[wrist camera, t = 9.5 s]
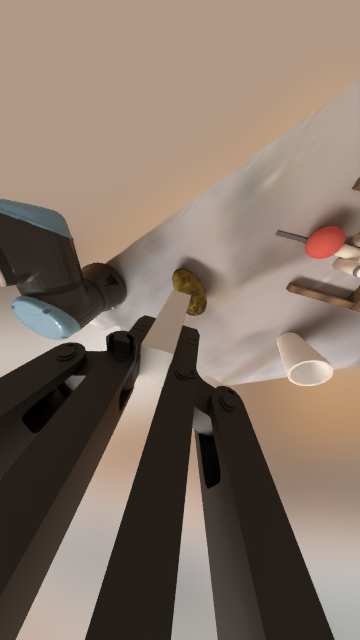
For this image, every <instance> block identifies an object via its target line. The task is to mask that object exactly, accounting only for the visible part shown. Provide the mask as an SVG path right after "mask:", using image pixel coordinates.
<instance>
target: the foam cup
mask: <svg viewBox="0 0 360 640" xmlns="http://www.w3.org/2000/svg"><path fill="white" fill-rule="evenodd" d="M277 345H278V348H279V351H280V355H281V358H282V362H283V365H284V370H285V372H286V374H287V376H288V378H289V380H290V381H291V382H293V383H295V384H297V385H302V386H313V385H317V384H321V383H323V382H325V381H327V380H328V379H330V378H331V376H332V374H333V368H332V366H331V364H330V363H329V362H328V361H327V360H326V359H325V358H324V357H322V356H321V355H320V354H319V353H318V352H317V351H315V350H314V349H313V348H312V347H311V346H310V345H309V344H308V343H307V342H306V341H304V340H303V339H302V338H301V337H300V336H299V335H297V334H296V333H292V332H289V333H284V334H282V335H280V336H279V338H278V339H277Z"/></svg>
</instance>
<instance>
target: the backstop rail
mask: <svg viewBox="0 0 360 640" xmlns="http://www.w3.org/2000/svg"><path fill="white" fill-rule="evenodd" d="M352 189H354V190H358V191H360V178H359V179H358V180H357V182H356V183H355V185H354V186H353V188H352ZM286 289H287V290H288V291H289V292H292V293H296V294H299V295H303V296H306V297H310V298H313V299H317V300H320V301H324V302H327V303H331V304H335V305H338V306H342V307H345V308H349V309H351V310H354V311H357V312H360V286H359V287H358V288H357V289H356V290H355V292H354V293H353V294H352V295H351V296H350V297H349V298H348V299H344V298H341V297H337V296H334V295H330V294H327V293H323V292H320V291H316V290H312V289H309V288H305V287H302V286H298V285H295V284H291V283H289V284H288V286H287V287H286Z"/></svg>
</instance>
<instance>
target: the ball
mask: <svg viewBox="0 0 360 640" xmlns="http://www.w3.org/2000/svg"><path fill="white" fill-rule="evenodd" d="M344 242H345V233H344V231H343V230H342V229H340V228H338V227H335V226H328V227H323V228H321V229H319V230H317V231H315V232H314V233H313V234H312V235H311V236H310V237H309V238H308V240H307V241H306V244H305V251H306V253H307V254H308V255H309V256H310V257H312V258H315V259H322V258H327V257H329V256H332V255H333V254H335V253H336V252H338V251H339V250H340V249H341V247H342V246H343V244H344Z"/></svg>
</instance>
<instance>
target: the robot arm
mask: <svg viewBox="0 0 360 640" xmlns="http://www.w3.org/2000/svg"><path fill="white" fill-rule="evenodd" d="M11 285H16V286H17V288H18V290H19V292H20V294H21V297H17V298H16V299H15V300H14V301H13V302H12V310H13V312H14V314H15V315H16V317H17V318H18V319H19V320H20V321H21V322H22V323H23V324H24V325H25V326H27V327H28V328H29V329H31V330H32V331H34V332H36V333H37V334H40V335H41V336H44V337H46V338H50V339H54V340H63V339H66V338H68V337H70V336H72V335H73V334H74V333H76V332H79V331H80V330H81V329H82V328H83V327H84V326H85V325H87V324H88V323H89V322H90V321H92V320H93V319H94V318H95V317H97V316H98V315H99V314H100V313H102V312H104V311H107V310H111V309H114V308H117V307H118V306H119V305H121V304H122V303H123V302H124V300H125V297H126V287H125V284H124V281H123V279H122V278H121V276H120V275H119V274H118V273H117V272H116V271H115V270H114V269H113V268H111V267H110V266H108V265H106V264H103V263H93V264H89V265H87V266H85V267H83V268H82V269H81V267H80V264H79V261H78V257H77V253H76V250H75V246H74V243H73V238H72V237H71V234H70V231H69V228H68V225H67V223H66V220H65V219H64V217H63V216H62V215H61V214H59V213H58V212H56V211H54V210H50V209H46V208H43V207H38V206H34V205H30V204H25V203H21V202H15V201H10V200H5V199H0V286H2V287H6V286H11ZM190 298H191V295H188V294H185V293H181V292H178V291H174V290H173V291H172V293H171V295H170V296H169V298H168V300H167V302H166V303H165V305H164V307H163V308H162V310H161V312H160V313H159V315H158V317H157V318H153V317H150V316H146V315H145V316H143V317H141V318H139V319H138V320H137V322H136V323H135V324H134V326H133V327H132V328H131V329H130V331H129V332H128V331H116V332H113V333H110V334H109V335H108V336H106V342H107V351H100V352H99V351H86V350H85V347H84V346H83V345H82V344H79V343H71V342H70V343H65V344H61V345H59V346H57V347H54V348H53V349H51V350H49V351H47V352H45V353H44V354H42V355H40V356H38V357H36V358H35V359H33V360H31V361H29V362H27V363H26V364H24V365H22V366H20V367H18V368H17V369H15V370H13V371H11V372H10V373H8V374H6V375H4V376H2V377H1V378H0V478H1V479H0V640H16V637H17V635H18V633H19V631H20V629H21V627H22V625H23V623H24V620H25V618H26V616H27V614H28V612H29V610H30V608H31V606H32V603H33V601H34V599H35V597H36V595H37V593H38V591H39V589H40V587H41V584H42V582H43V580H44V578H45V576H46V574H47V572H48V570H49V568H50V565H51V563H52V561H53V559H54V557H55V555H56V553H57V551H58V549H59V546H60V544H61V542H62V540H63V538H64V536H65V534H66V532H67V530H68V527H69V525H70V523H71V521H72V519H73V517H74V515H75V513H76V510H77V508H78V506H79V504H80V502H81V500H82V498H83V496H84V493H85V491H86V489H87V487H88V485H89V483H90V481H91V479H92V476H93V474H94V472H95V470H96V468H97V466H98V464H99V462H100V459H101V458H102V455H103V453H104V451H105V449H106V447H107V445H108V443H109V441H110V438H111V436H112V434H113V432H114V430H115V428H116V426H117V423H118V422H119V419H120V417H121V415H122V413H123V411H124V409H125V407H126V405H127V402H128V400H129V398H130V396H131V394H132V392H133V389H134V383H135V381H136V379H137V377H138V381H141V382H144V383H147V384H151V385H154V386H157V387H161V388H162V391H161V394H160V397H159V401H158V404H157V407H156V411H155V414H154V417H153V420H152V423H151V427H150V430H149V433H148V437H147V440H146V443H145V446H144V450H143V453H142V456H141V459H140V462H139V466H138V469H137V472H136V476H135V479H134V482H133V485H132V489H131V492H130V495H129V499H128V501H127V505H126V508H125V511H124V514H123V518H122V521H121V524H120V527H119V531H118V534H117V537H116V540H115V544H114V547H113V550H112V553H111V557H110V560H109V563H108V566H107V570H106V574H105V576H104V580H103V583H102V586H101V589H100V593H99V596H98V599H97V602H96V605H95V609H94V612H93V615H92V618H91V622H90V625H89V628H88V631H87V635H86V638H85V640H171V633H172V622H173V613H174V602H175V593H176V583H177V573H178V563H179V553H180V544H181V533H182V524H183V514H184V503H185V493H186V484H187V474H188V464H189V454H190V445H191V435H192V428H194V430H195V439H196V448H197V457H198V466H199V475H200V483H201V493H202V502H203V511H204V520H205V529H206V538H207V546H208V555H209V564H210V573H211V582H212V591H213V600H214V609H215V618H216V627H217V636H218V640H334V637H333V634H332V632H331V629H330V627H329V624H328V621H327V619H326V616H325V614H324V611H323V608H322V606H321V603H320V601H319V598H318V595H317V593H316V590H315V588H314V585H313V582H312V580H311V577H310V575H309V572H308V570H307V567H306V564H305V562H304V559H303V557H302V554H301V551H300V549H299V546H298V543H297V541H296V539H295V536H294V533H293V530H292V528H291V525H290V523H289V520H288V518H287V515H286V513H285V510H284V507H283V505H282V502H281V499H280V497H279V494H278V492H277V489H276V486H275V484H274V481H273V479H272V476H271V474H270V471H269V468H268V466H267V463H266V460H265V458H264V455H263V453H262V450H261V447H260V445H259V443H258V440H257V437H256V435H255V432H254V430H253V427H252V424H251V421H250V419H249V417H248V414H247V411H246V409H245V406H244V404H243V401H242V400H241V398H240V396H239V395H238V394H237V393H236V392H235V391H234V390H232V389H231V388H229V387H226V386H218V387H217V388H214V387H213V386H211V385H209V384H208V383H206V382H205V381H203V379H202V378H201V377H200V376H199V374H198V373H197V369H196V363H197V354H198V346H199V337H200V335H199V333H198V330H197V329H194V328H190V327H187V326H183V323H184V319H185V315H186V312H187V308H188V305H189V301H190Z"/></svg>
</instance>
